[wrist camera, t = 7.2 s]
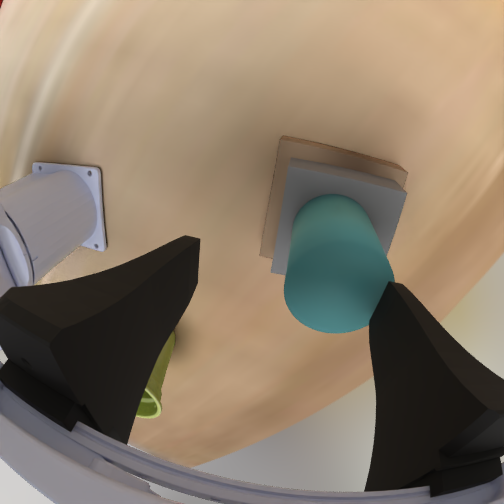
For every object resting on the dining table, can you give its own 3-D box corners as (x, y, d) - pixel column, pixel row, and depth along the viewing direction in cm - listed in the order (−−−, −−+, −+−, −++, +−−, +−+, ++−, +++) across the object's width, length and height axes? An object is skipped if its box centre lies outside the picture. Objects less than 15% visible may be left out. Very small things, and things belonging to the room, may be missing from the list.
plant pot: (209, 349, 29) (181, 418, 22) (152, 363, 33) (123, 418, 25) (150, 281, 26) (101, 347, 19) (101, 308, 30) (59, 361, 22)
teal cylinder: (285, 257, 17) (273, 321, 12) (301, 185, 15) (298, 228, 10) (356, 273, 17) (369, 340, 12) (381, 205, 14) (411, 256, 10)
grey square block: (275, 252, 20) (270, 272, 18) (291, 157, 16) (288, 166, 14) (367, 270, 19) (372, 291, 17) (395, 180, 16) (407, 193, 14)
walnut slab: (264, 239, 22) (259, 255, 20) (283, 134, 18) (280, 139, 16) (364, 261, 22) (369, 280, 19) (397, 163, 17) (407, 172, 15)
